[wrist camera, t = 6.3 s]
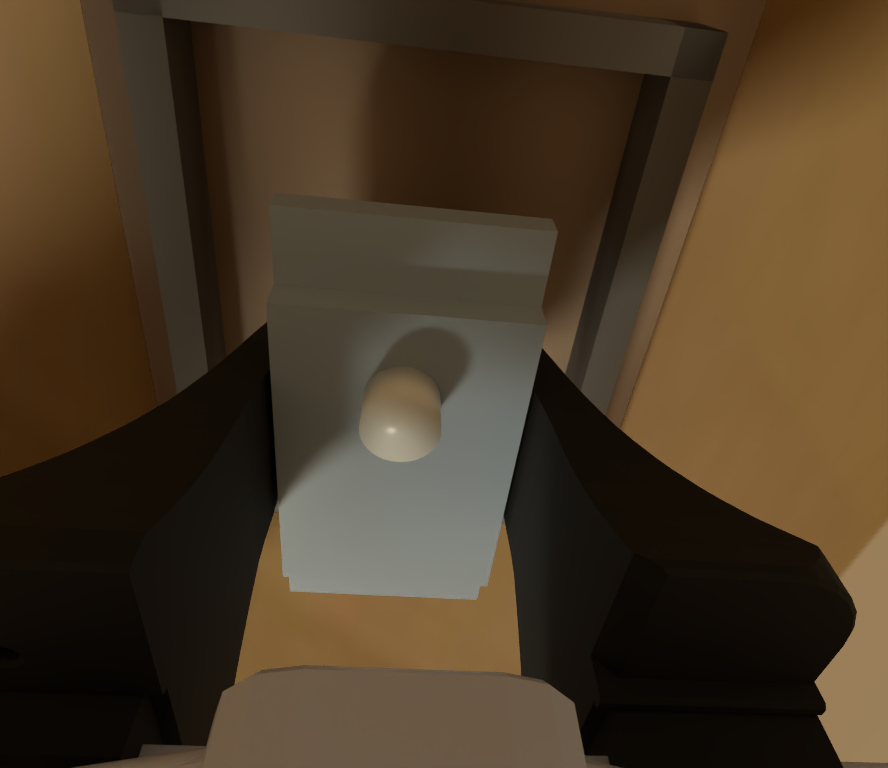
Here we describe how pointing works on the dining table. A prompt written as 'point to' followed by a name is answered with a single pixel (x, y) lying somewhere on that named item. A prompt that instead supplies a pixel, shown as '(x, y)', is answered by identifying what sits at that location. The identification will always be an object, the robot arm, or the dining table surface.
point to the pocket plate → (413, 147)
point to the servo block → (399, 388)
